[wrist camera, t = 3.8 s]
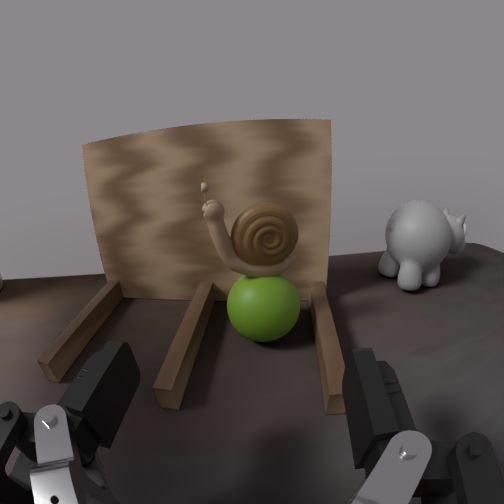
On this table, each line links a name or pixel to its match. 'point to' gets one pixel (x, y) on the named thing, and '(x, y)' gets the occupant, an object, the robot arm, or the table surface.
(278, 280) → the snail figurine
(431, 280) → the chubby cartoon animal
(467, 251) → the table surface
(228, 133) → the lane rack
